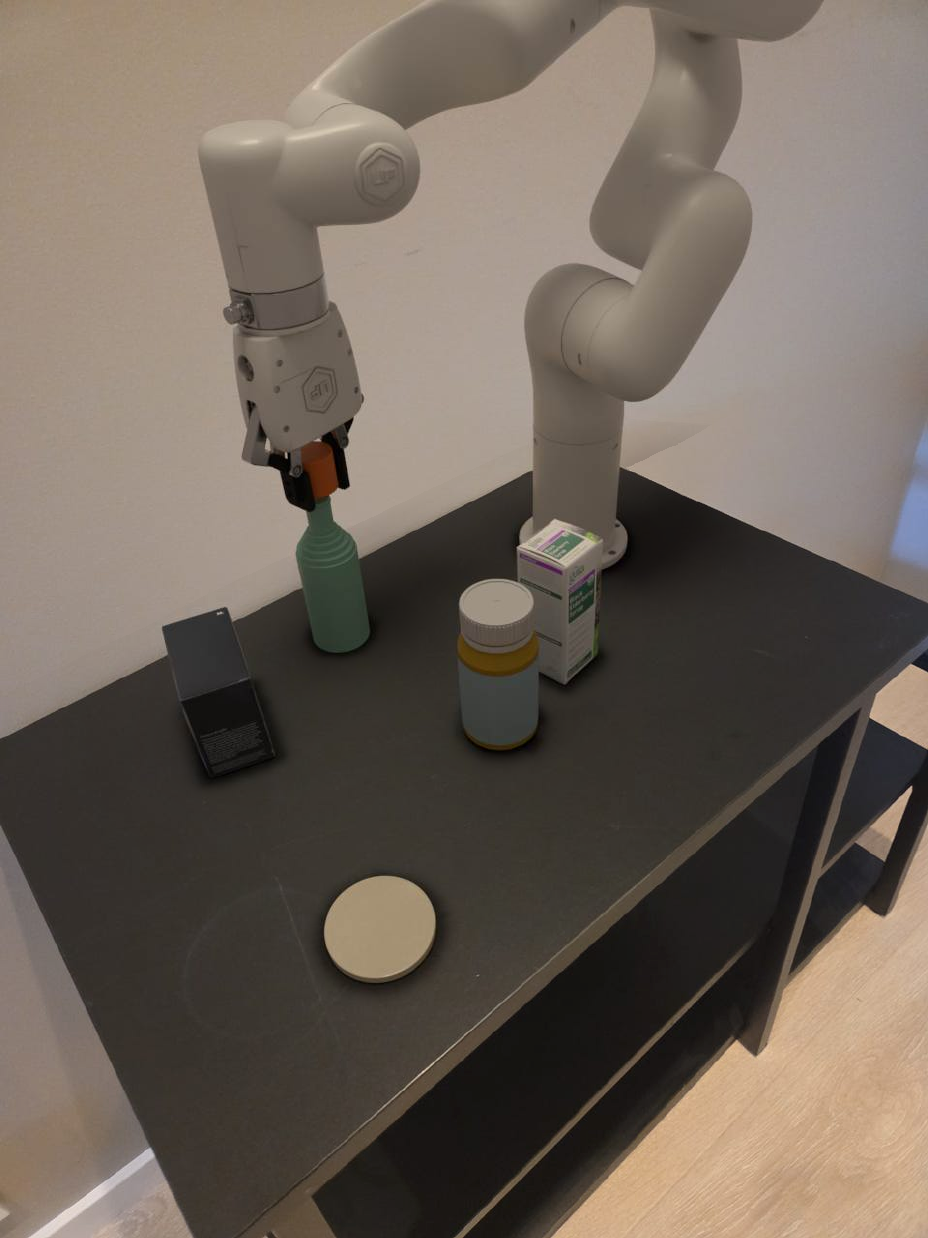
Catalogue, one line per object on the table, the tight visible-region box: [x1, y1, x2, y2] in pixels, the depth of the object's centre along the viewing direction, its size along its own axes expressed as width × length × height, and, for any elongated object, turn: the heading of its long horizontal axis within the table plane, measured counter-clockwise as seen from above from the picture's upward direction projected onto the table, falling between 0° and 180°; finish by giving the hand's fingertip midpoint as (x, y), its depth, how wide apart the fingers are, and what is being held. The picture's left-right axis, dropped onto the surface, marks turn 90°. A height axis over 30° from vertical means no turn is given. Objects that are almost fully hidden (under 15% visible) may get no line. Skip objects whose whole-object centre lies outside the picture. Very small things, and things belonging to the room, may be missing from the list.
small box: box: [161, 606, 276, 779], centre depth 79 cm, size 11×6×10 cm, turn 23°
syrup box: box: [516, 519, 603, 685], centre depth 83 cm, size 6×6×14 cm
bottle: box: [456, 578, 540, 751], centre depth 76 cm, size 7×7×15 cm
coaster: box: [323, 875, 437, 984], centre depth 65 cm, size 8×8×1 cm
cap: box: [301, 440, 339, 499], centre depth 79 cm, size 4×4×4 cm
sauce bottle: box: [295, 495, 371, 654], centre depth 86 cm, size 6×6×17 cm
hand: (319, 493), depth 81 cm, fingers closed on cap, 3 cm apart
